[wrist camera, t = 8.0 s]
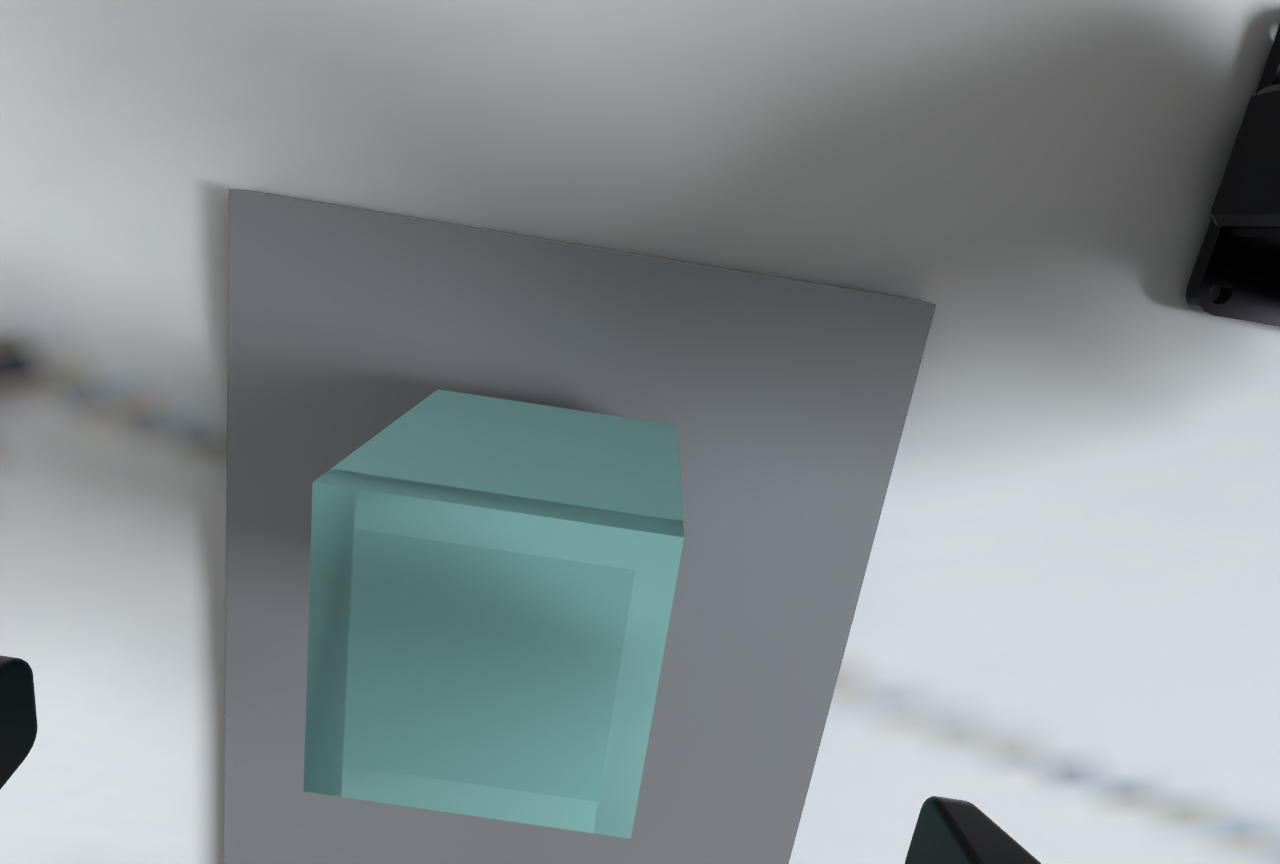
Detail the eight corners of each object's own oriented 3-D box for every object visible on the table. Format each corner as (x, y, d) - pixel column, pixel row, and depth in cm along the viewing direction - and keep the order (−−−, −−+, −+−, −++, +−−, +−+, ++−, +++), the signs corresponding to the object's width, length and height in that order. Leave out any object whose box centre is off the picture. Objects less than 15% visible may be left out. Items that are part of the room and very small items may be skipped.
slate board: (923, 301, 18) (935, 304, 17) (719, 1089, 25) (721, 1117, 24) (248, 190, 18) (228, 188, 17) (236, 1016, 25) (222, 1042, 24)
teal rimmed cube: (676, 425, 16) (684, 536, 10) (641, 636, 18) (630, 838, 12) (438, 389, 16) (312, 482, 10) (421, 604, 18) (303, 791, 12)
